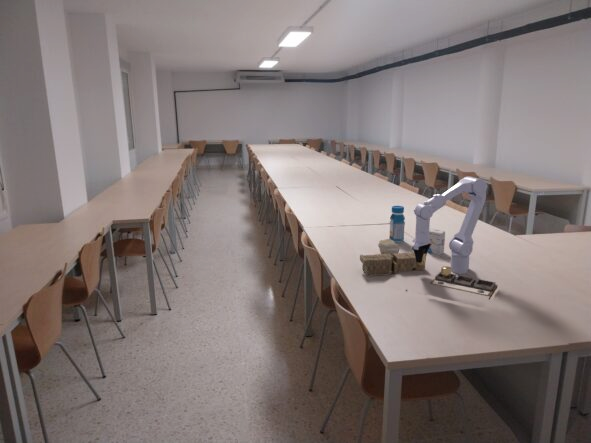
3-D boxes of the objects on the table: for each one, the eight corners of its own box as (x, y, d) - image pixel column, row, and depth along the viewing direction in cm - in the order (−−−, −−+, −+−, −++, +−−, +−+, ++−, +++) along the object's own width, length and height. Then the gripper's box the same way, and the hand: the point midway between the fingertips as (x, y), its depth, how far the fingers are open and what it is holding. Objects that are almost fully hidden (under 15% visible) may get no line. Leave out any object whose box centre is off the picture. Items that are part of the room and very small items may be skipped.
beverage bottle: (398, 243, 239) (399, 209, 234) (386, 240, 245) (387, 206, 240) (407, 240, 244) (408, 206, 239) (394, 237, 251) (396, 204, 246)
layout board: (439, 275, 191) (440, 270, 190) (497, 287, 177) (497, 281, 177) (429, 286, 180) (429, 280, 179) (489, 299, 166) (490, 293, 166)
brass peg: (417, 261, 191) (418, 251, 190) (426, 263, 189) (427, 252, 188) (414, 264, 188) (415, 253, 187) (423, 266, 186) (424, 255, 185)
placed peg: (442, 276, 187) (442, 265, 186) (451, 278, 185) (452, 267, 184) (439, 279, 184) (440, 268, 183) (448, 281, 182) (449, 270, 180)
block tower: (418, 268, 204) (358, 270, 200) (419, 251, 202) (359, 253, 198) (424, 274, 196) (363, 276, 193) (426, 257, 194) (364, 258, 191)
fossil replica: (403, 254, 222) (385, 252, 228) (403, 238, 221) (385, 237, 227) (394, 258, 212) (375, 256, 218) (393, 242, 211) (375, 241, 217)
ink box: (424, 251, 224) (425, 230, 222) (429, 249, 228) (430, 228, 225) (440, 255, 219) (441, 232, 216) (444, 252, 222) (445, 230, 219)
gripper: (419, 226, 193) (417, 254, 196) (407, 234, 182) (405, 263, 185) (434, 228, 189) (433, 257, 192) (423, 236, 178) (421, 266, 181)
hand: (420, 260), depth 188 cm, fingers closed on brass peg, 4 cm apart
